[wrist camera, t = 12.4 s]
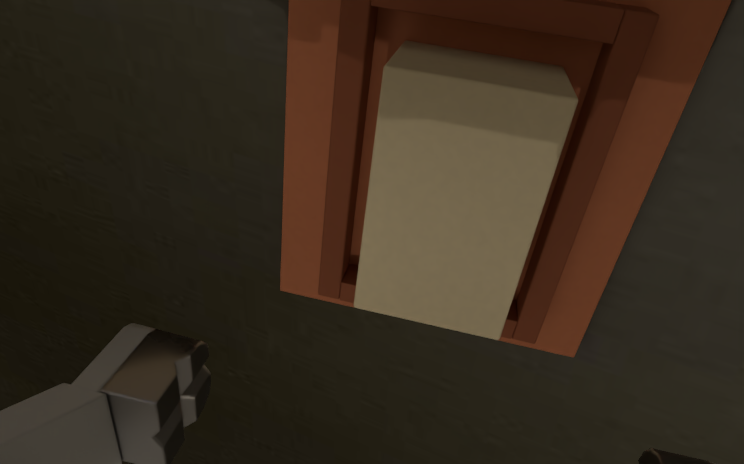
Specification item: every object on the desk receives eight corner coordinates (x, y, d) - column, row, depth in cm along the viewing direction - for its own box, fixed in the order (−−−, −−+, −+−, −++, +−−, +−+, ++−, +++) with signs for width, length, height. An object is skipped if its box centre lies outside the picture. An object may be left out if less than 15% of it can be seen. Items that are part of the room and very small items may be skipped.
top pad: (404, 39, 18) (383, 65, 15) (564, 66, 18) (579, 99, 14) (374, 252, 23) (352, 307, 20) (499, 278, 22) (499, 341, 19)
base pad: (300, -97, 18) (274, -100, 16) (735, -38, 16) (771, -32, 14) (286, 279, 26) (268, 310, 24) (571, 343, 24) (578, 382, 22)
